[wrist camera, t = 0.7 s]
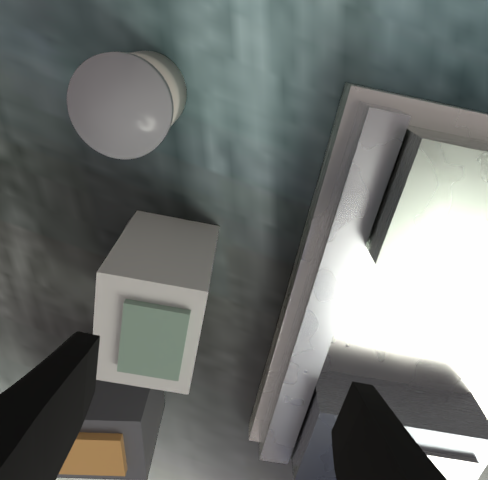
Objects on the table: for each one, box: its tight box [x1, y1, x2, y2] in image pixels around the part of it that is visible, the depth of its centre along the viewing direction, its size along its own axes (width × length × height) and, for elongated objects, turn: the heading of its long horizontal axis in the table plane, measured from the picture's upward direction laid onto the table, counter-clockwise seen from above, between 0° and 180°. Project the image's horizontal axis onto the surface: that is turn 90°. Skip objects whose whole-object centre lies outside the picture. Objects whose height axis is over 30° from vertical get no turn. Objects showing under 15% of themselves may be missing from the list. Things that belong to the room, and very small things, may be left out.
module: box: [93, 210, 220, 395], centre depth 19 cm, size 5×4×6 cm
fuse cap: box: [67, 51, 187, 159], centre depth 16 cm, size 3×3×5 cm
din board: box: [249, 82, 488, 480], centre depth 21 cm, size 20×14×4 cm
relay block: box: [57, 380, 165, 480], centre depth 23 cm, size 4×5×5 cm
